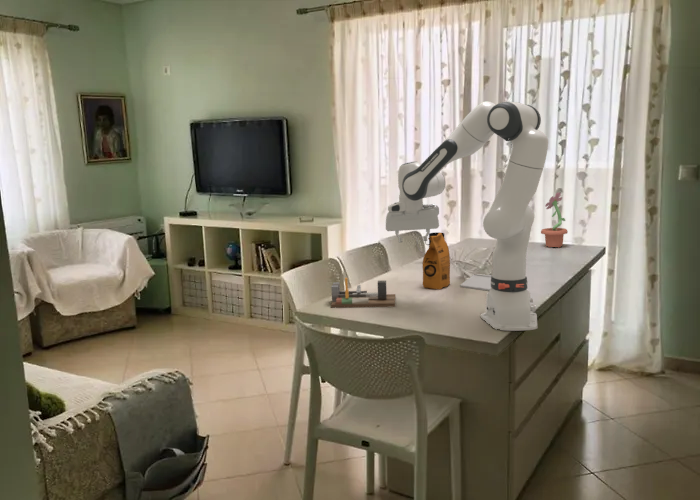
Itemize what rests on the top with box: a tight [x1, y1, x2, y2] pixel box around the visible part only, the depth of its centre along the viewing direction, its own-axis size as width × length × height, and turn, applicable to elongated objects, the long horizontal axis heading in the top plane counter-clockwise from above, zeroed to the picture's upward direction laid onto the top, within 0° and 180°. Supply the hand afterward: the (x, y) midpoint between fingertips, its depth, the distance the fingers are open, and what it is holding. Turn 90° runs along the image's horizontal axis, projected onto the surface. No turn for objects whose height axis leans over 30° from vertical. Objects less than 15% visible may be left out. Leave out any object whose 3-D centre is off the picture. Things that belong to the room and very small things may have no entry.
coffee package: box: [422, 232, 451, 290], centre depth 254 cm, size 10×12×22 cm
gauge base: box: [330, 281, 396, 309], centre depth 234 cm, size 14×24×7 cm, turn 85°
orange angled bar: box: [344, 277, 350, 298], centre depth 229 cm, size 3×1×8 cm, turn 175°
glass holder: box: [416, 232, 446, 256], centre depth 299 cm, size 9×14×15 cm, turn 81°
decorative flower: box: [540, 192, 568, 248], centre depth 330 cm, size 15×14×30 cm
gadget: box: [459, 273, 492, 292], centre depth 256 cm, size 23×15×4 cm, turn 140°
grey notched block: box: [352, 280, 388, 299], centre depth 232 cm, size 6×13×7 cm, turn 85°
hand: (412, 241), depth 232 cm, fingers open, 8 cm apart
